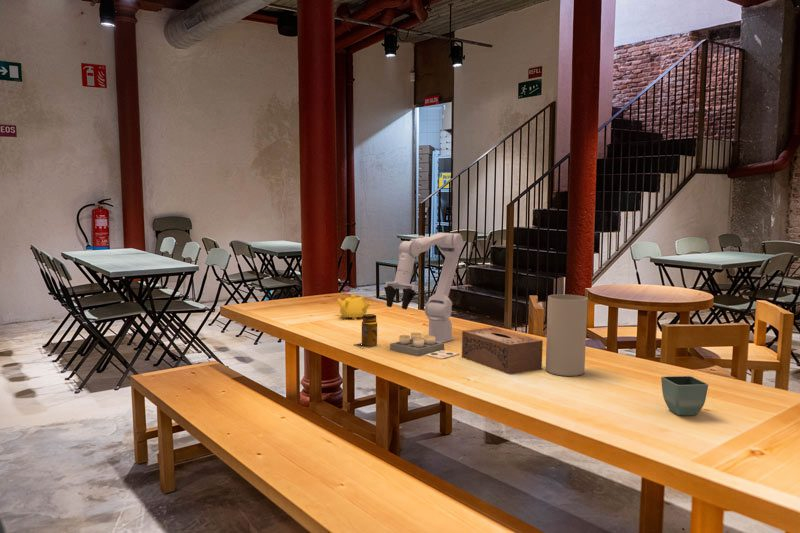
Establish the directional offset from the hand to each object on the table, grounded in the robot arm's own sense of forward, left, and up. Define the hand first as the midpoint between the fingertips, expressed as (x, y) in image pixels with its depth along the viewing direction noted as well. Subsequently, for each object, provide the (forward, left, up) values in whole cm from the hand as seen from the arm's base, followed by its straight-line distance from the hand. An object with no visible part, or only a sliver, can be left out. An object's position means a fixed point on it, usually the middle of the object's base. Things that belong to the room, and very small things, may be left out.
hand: (396, 307), depth 235 cm
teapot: (-36, -62, -17) cm, 74 cm away
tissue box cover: (-13, +37, -17) cm, 43 cm away
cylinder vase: (-18, +59, -17) cm, 64 cm away
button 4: (-11, +7, -14) cm, 19 cm away
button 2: (-11, 0, -14) cm, 18 cm away
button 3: (-4, +7, -14) cm, 17 cm away
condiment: (+1, -15, -17) cm, 22 cm away
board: (-8, +4, -16) cm, 19 cm away
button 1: (-4, 0, -14) cm, 15 cm away
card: (-8, +16, -16) cm, 24 cm away
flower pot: (-2, +102, -17) cm, 104 cm away
